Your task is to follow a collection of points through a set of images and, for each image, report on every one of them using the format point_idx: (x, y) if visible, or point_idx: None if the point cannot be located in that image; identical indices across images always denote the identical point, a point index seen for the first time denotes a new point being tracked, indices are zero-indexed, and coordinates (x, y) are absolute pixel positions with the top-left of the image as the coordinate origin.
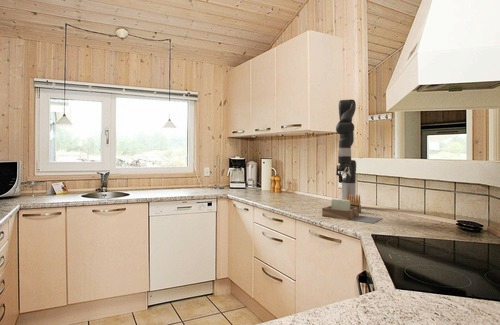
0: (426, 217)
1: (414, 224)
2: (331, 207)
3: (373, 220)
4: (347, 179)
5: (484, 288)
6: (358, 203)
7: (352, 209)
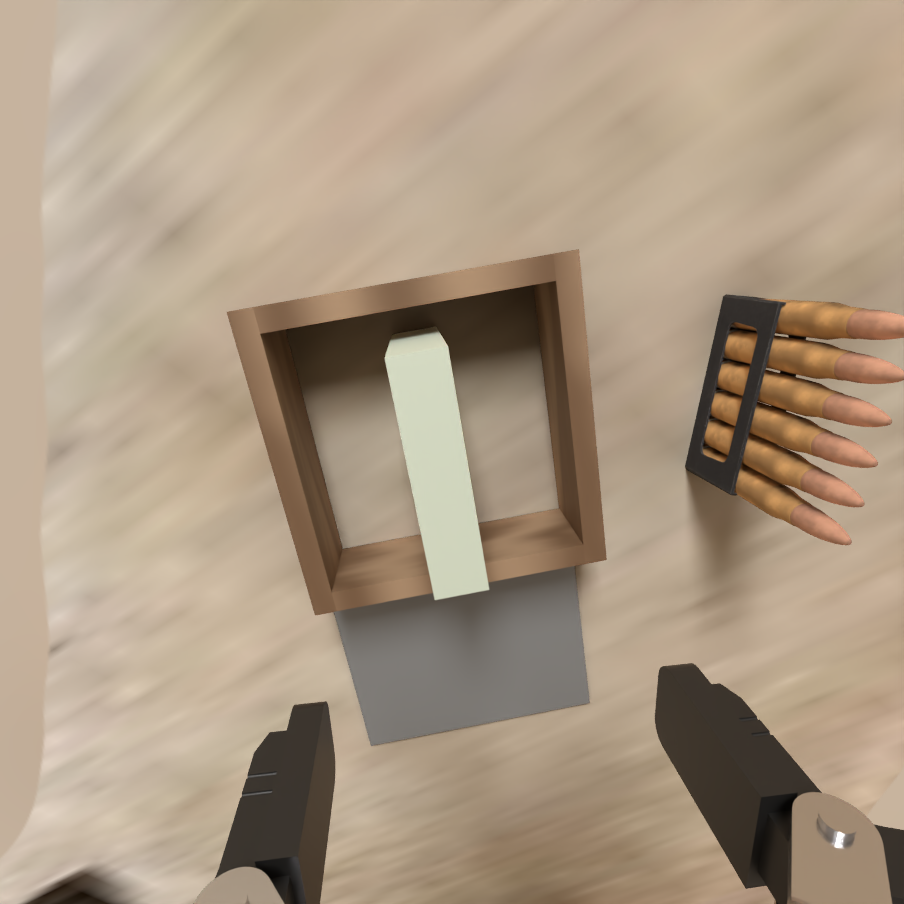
0: None
1: (561, 880)
2: (389, 344)
3: (458, 704)
4: (692, 744)
5: None
6: (749, 493)
7: None
